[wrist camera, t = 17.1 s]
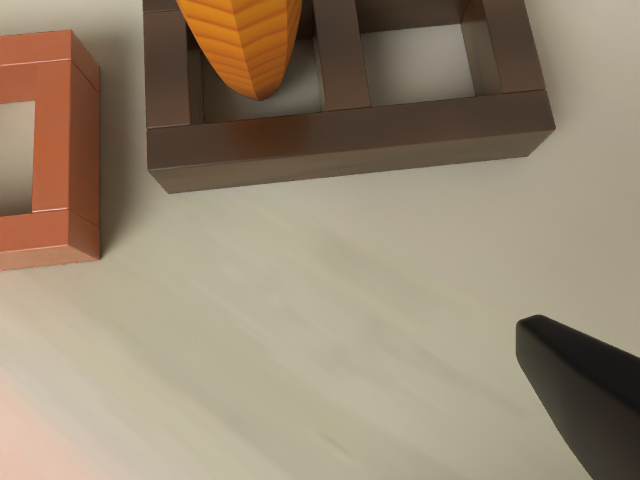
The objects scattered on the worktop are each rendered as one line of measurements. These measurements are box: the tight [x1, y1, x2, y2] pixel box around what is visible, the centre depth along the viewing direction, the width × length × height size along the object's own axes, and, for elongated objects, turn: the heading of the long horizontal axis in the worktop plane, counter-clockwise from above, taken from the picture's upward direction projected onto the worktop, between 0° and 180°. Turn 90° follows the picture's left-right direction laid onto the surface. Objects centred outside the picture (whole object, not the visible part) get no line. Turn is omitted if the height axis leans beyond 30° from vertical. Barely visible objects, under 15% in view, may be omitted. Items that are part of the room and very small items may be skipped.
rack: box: [143, 0, 556, 194], centre depth 24 cm, size 10×18×3 cm, turn 96°
